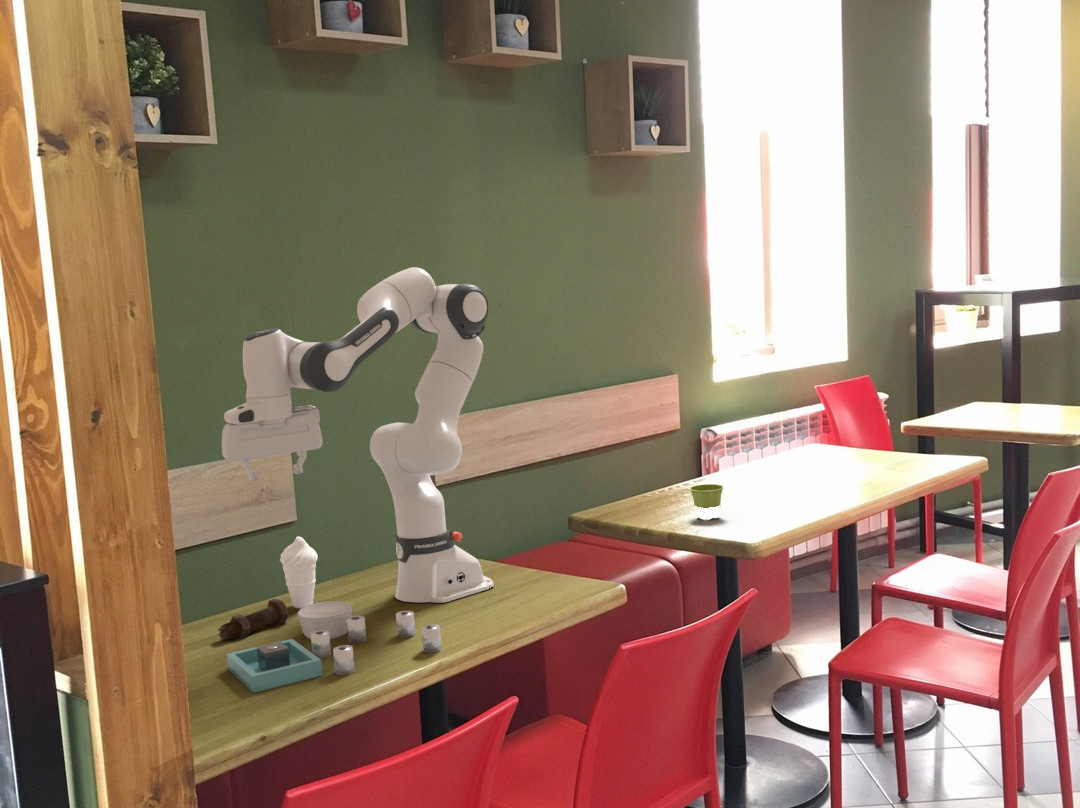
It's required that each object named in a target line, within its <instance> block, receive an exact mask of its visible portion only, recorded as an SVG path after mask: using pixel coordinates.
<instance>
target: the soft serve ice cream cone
mask: <svg viewBox="0 0 1080 808" xmlns="http://www.w3.org/2000/svg"><path fill="white" fill-rule="evenodd" d="M318 557H319V556H318V553H317V552H316V550H315V549H314V548H313V547H311V546H310V545H309V543H308V542H306V540H305V539H304V538H303V537H301V536H296V538H295V539H294V541H293V542H292V543H290V544H289V545H287V547H285V548H284V549H283V551H282V553H280V558H279V562H280V563H281V564H282V570H283V572H284V577H285V585H286V587H287V589H288V593H289V596H290V599H291V602H292V606H293V608H296V609H302V608H303V607H305V606H308V605H311V604H314V597H315V596H314V595H315V585H316V582H317V580H316V568H317V564H316V563H317V562H318Z"/></svg>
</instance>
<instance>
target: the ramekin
mask: <svg viewBox="0 0 1080 808" xmlns="http://www.w3.org/2000/svg"><path fill="white" fill-rule="evenodd" d="M353 607H354V606H353V605H352V603H350V602H348V601H344V600H341V601H340V600H329V601H328V600H327V601H320V602H315V603H314V602H313V604H311V605H308V606H305V607H303V608H299V610H298V611H297V617H298V619H299V621H300V626H301V629H302V632H303V635H304V636H305V637H306V638H308V639H309V640H311V633H312V632H315V631H319V630H327V631H329V633H330V640H333V639H336V638H340V637H343V636H345V635H347V634H348V631H347V618H349V617H352V615H353V613H352V612H353Z"/></svg>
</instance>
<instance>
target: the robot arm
mask: <svg viewBox="0 0 1080 808" xmlns="http://www.w3.org/2000/svg"><path fill="white" fill-rule="evenodd" d="M489 306H490V304H489V299H488V296H487V294H486V293H485V292H484V290H483V289H482V288H480V287H479V286H477V285H473V284H469V283H459V284H457V283H453V284H452V283H449V284H448V283H447V284H442V285H436V283H435V280H434V279H433V278H432V276H431V274H430V273H428V272H427V271H426V270H425V269H423V268H421V267H413V266H412V267H408V268H406V269H403V270H401V271H398V272H396V273H394V274H392V275H390V276H388V277H387V278H384V279H382V280H381V281H380V282H378V283H377V284H375V285H373V286H372V287H371V288H370V289H368V290H367V291H366V292H365V293H363V295H362V296H361V297H360V299H359V300H358V302H357V307H356V313H357V317H358V320H359V322H360V323H359V324H358V325H356V326H355V327H353V328H352V329H351V330H350V331H349V332H347V333H346V334H345V335H344V336H342V337H340V338H339V339H336V340H331V341H330V340H329V341H321V342H319V341H318V342H315V341H314V342H313V341H312V342H311V341H304V340H300V339H298V338H294V337H292V336H290V335H288V334H286V333H285V332H283V331H282V330H281V329H280V328H276V327H275V328H274V327H273V328H272V327H271V328H266V329H260V330H256V331H254V332H251V333H250V334H248V335H247V336H246V337H245V338H244V340H243V345H242V366H243V367H242V369H243V377H244V379H245V382H246V391H245V392H246V393H245V399H246V402H245V403H242V404H240V405H238V406H236V407H234V408H231V409H229V410H227V411H225V412H224V414H223V419H224V421H225V422H226V424H225V425H224V427H223V428H222V431H221V433H222V434H221V453H222V456H223V458H224V459H225V460H226V461H229V462H238V461H240V462H241V465H242V467H243V468H244V469H245V471H246V472H247V475H248V480H249V481H251V482H254V481H258V480H259V476H258V473H259V472H258V471H257V470H253V469H252V468H251V466H250V465H251V464H252V459H257V458H262V457H263V458H265V457H271V456H278V455H284V454H285V455H286V454H292V453H293V454H294V453H296V454H297V456H298V459H297V462H296V464H295V463H294V464H292V469H293V470H292V471H293V474H294V475H298V474H299V475H300V474H303V473H304V468H303V465H304V463H305V461H306V459H307V456H308V453H307V452H308V451H312V450H313V451H314V450H319V449H320V448H321V447H322V446H323V435H322V430H321V426H320V421H321V417H320V415H321V414H320V410H319V408H317V407H316V406H313V405H312V404H305V405H298V406H297V405H296V406H293V405H292V395H291V389H292V388H296V389H297V388H298V389H305V390H316V391H321V392H324V393H331V392H332V393H333V392H336V391H339V390H340V389H342V388H343V387H344V386H345V385H346V384H348V382H349V380H350V379H351V377H352V376H353V374H354V372H355V371H356V369H357V368H358V366H360V364H361V363H362V362H364V361H365V360H366V359H368V358H369V357H370V356H371V355H372V354H374V352H376V351H377V350H378V349H380V347H382V346H383V345H384V344H386V342H387V341H389V340H390V339H391V338H392V337H393V336H394V335H395V334H396V333H398V332H399V331H401V330H402V329H403V328H405V327H406V326H408V325H409V324H411V325H412V327H413V328H415V329H416V330H418V331H420V332H422V333H425V334H437V344H436V348H435V351H433V352H434V353H433V355H432V356H431V357H430V360H429V362H428V364H427V365H426V368H425V370H424V372H423V375H422V376H421V378H420V380H419V382H418V385H417V387H416V388H415V393H414V397H415V400H416V403H417V404H418V411H417V416H416V419H415V421H413V423H409V422H400V421H399V422H392V423H389V424H388V423H387V424H384V425H381V426H380V427H378V428H376V429H375V431H373V434H372V436H371V438H370V441H369V452H370V455H371V458H372V459H373V460H374V461H375V463H376V464H377V465H378V466H379V468H380V469H381V470H382V473H383V475H384V477H385V480H386V482H387V484H388V487H389V490H390V493H391V496H392V501H393V506H394V513H395V514H394V516H395V523H396V535H395V551H396V552H395V553H396V556H397V557H396V558H397V561H398V571H397V572H398V573H397V583H396V590H395V595H394V598H395V599H397V600H399V601H402V602H408V603H438V604H441V603H443V604H444V603H448V602H451V601H454V600H457V599H460V598H464V597H467V596H471V595H474V594H476V593H481V592H482V591H487V590H490V589H492V588H491V587H493V586H495V585H494V581H493V580H492V579H491V578H490V577H489V576H485V575H484V574H483V570H482V566H481V564H480V562H479V560H478V559H477V558H476V557H475V556H473V555H472V554H470V553H468V552H467V551H465V549H462V548H460V547H459V546H458V545H456V544H455V542H461V541H462V539H463V536H464V535H463V534H462V532H459V531H452V530H449V529H447V524H446V523H447V522H446V510H445V499H444V496H443V495H442V493H441V491H440V490H439V489H438V488H437V487H436V486H435V484H434V482H433V480H432V478H431V476H437V475H443V474H448V473H450V472H452V471H454V470H455V469H456V468H457V467H458V466H459V463H460V462H461V459H462V455H463V444H462V442H461V441H462V440H460V438H459V435H458V423H459V419H460V418H459V417H460V413H461V410H462V408H463V405H464V404H465V401H466V398H467V397H468V395H469V393H470V390H471V388H472V385H473V383H474V381H475V379H476V376H477V373H478V371H479V368H480V365H481V361H482V359H483V354H484V344H483V342H482V339H481V338H480V337H479V336H480V335H481V334H482V333H483V332H484V330H485V324H486V323H487V320H488V318H489V317H488V316H489V312H490V311H489V310H490V309H489ZM489 588H490V589H489ZM493 588H494V587H493Z"/></svg>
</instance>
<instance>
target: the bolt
mask: <svg viewBox="0 0 1080 808" xmlns="http://www.w3.org/2000/svg"><path fill="white" fill-rule="evenodd" d="M288 613H289V612H288V608H287V605H286V604H285V602H283V601H282V599H277V598H272V599H270V600H268V603H267V607H265V608H263V609H260V610H258V611H255V612H253V613H250V614H248V615H243V614H236V615H233V616H232V617H231V618H230V622H225V623H223V624H221V626H220V627H219V628H218V630H217V631H218V632H219V633H218V636H219V638H221V639H223V640H224V641H227V640H230V639H233V638H235V637H236V638H241V639H242V638H245V637H248V636H249V634H250V632H251V631H253V630H256V629H258V628H261V627H264V626H266V625H268V624H272V623H273V624H277V625H284V624H285V623H287V620H288V619H289V614H288Z"/></svg>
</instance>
